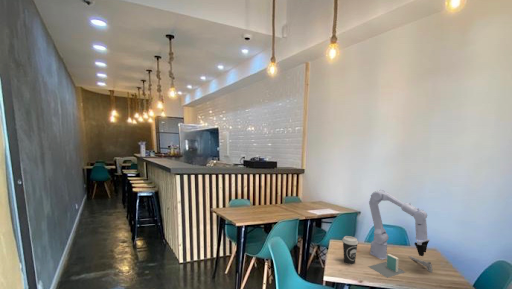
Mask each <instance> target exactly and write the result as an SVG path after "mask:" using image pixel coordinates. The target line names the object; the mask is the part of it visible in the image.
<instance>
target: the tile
mask: <svg viewBox="0 0 512 289" xmlns="http://www.w3.org/2000/svg"><path fill="white" fill-rule="evenodd" d="M399 261H400V260H399V257H397V256H394V255H393V254H391V253H387V259H386V262H387V268H389V269H391V270H392V271H394V272H398V268H399Z"/></svg>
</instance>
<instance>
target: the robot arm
mask: <svg viewBox="0 0 512 289" xmlns="http://www.w3.org/2000/svg"><path fill="white" fill-rule="evenodd" d="M382 201H384V202H385V201H386V202H387V201H388V202H390V203H391V204H394V205H396V206H398V207H400V209H401V211H403V212H405V213H406V214H408V215H409V216H410V217H411V216H412V217H413V218H414V220H415V222H414V223H415V224H414V225H415V226H414V227H415V228H414V229H415V240H416V242H414V246H415V247H416V250H417V253H418V256H420V257H424V256H425V253H426V252H427V248H428V244H429V242H431V239H430V238H428V227H427V226H428V225H427V218H428V213H427V212H426V211H425V210H424V209H420V208H419V207H416V206H414V205H413V204H412V203H411V202H403V201H402V200H400V199H398V198H397V197H395V196H394V195H392V194H390V193H389V192H387V191H385V190H383V189H380V190H377V191H373V192H372V193H371V195H370V197H369V201H368V204H369V209H370V213H371V217H372V222H373V227H374V232H373V235H374V236H373V240H372V241H371V243H370V252H369V254H370V255H372V256H373V257H376V258H378V259H380V260H383V261H384V260H387V254H388V253H387V252H388V240H389V238H390V237H389V235H388V233H387V232H386V229H385V228H384V225H383V221H382V220H383V219H382V216H381V212H380V208H379V204H380V203H381V202H382Z"/></svg>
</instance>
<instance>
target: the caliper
mask: <svg viewBox="0 0 512 289" xmlns="http://www.w3.org/2000/svg"><path fill="white" fill-rule="evenodd" d="M408 258H410V259H411V260H413V261H415V262H417V263H419V264H421V265H422V266H423V267H425V268H426V270H427V271H428V272H429V273H430V274H432V273H433V266H432V265H433V264H432V262H430V261H425V260H422V259H419V258H417V257H414V256H412V255H410V256H408Z"/></svg>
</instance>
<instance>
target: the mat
mask: <svg viewBox="0 0 512 289" xmlns="http://www.w3.org/2000/svg"><path fill="white" fill-rule="evenodd" d="M367 267H368V268H370V269H372V270H373V271H374V272H377V273H378V274H380V275H382V276H384V277H385V278H387V279H388V278H390V277H395V276H398V275H400V274H405V273H406V271H404V270H403V269H400V268H399V267H398V272H394V271H392V270H391V269H389V268H387V261H384V262H380V263H376V264H371V265H368V266H367Z"/></svg>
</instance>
